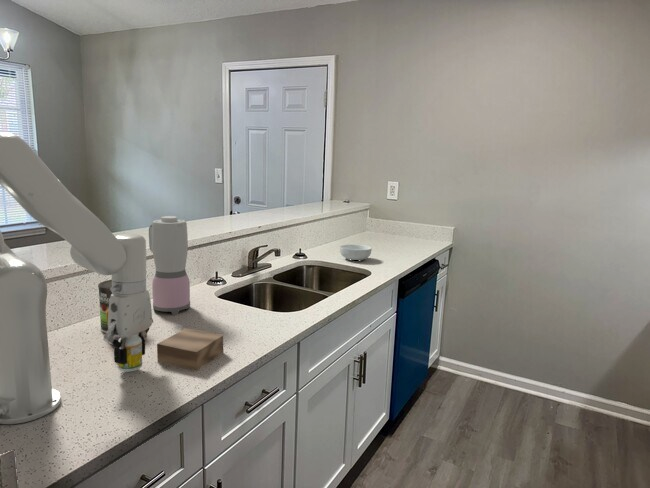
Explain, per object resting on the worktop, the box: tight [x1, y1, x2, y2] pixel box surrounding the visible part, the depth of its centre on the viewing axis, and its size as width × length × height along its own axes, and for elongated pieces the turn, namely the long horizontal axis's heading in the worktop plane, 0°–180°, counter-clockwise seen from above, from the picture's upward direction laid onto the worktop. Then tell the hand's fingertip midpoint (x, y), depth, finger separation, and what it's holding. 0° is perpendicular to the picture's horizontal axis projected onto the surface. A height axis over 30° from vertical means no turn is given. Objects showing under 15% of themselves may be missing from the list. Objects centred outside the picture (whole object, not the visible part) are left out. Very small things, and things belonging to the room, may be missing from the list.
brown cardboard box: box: [156, 327, 224, 372], centre depth 120 cm, size 12×12×5 cm
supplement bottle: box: [117, 333, 143, 373], centre depth 110 cm, size 5×5×10 cm
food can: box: [97, 279, 112, 334], centre depth 137 cm, size 10×10×14 cm
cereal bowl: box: [339, 243, 372, 261], centre depth 243 cm, size 17×17×7 cm
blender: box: [148, 215, 191, 316], centre depth 154 cm, size 16×12×32 cm
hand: (130, 357), depth 111 cm, fingers closed on supplement bottle, 5 cm apart
